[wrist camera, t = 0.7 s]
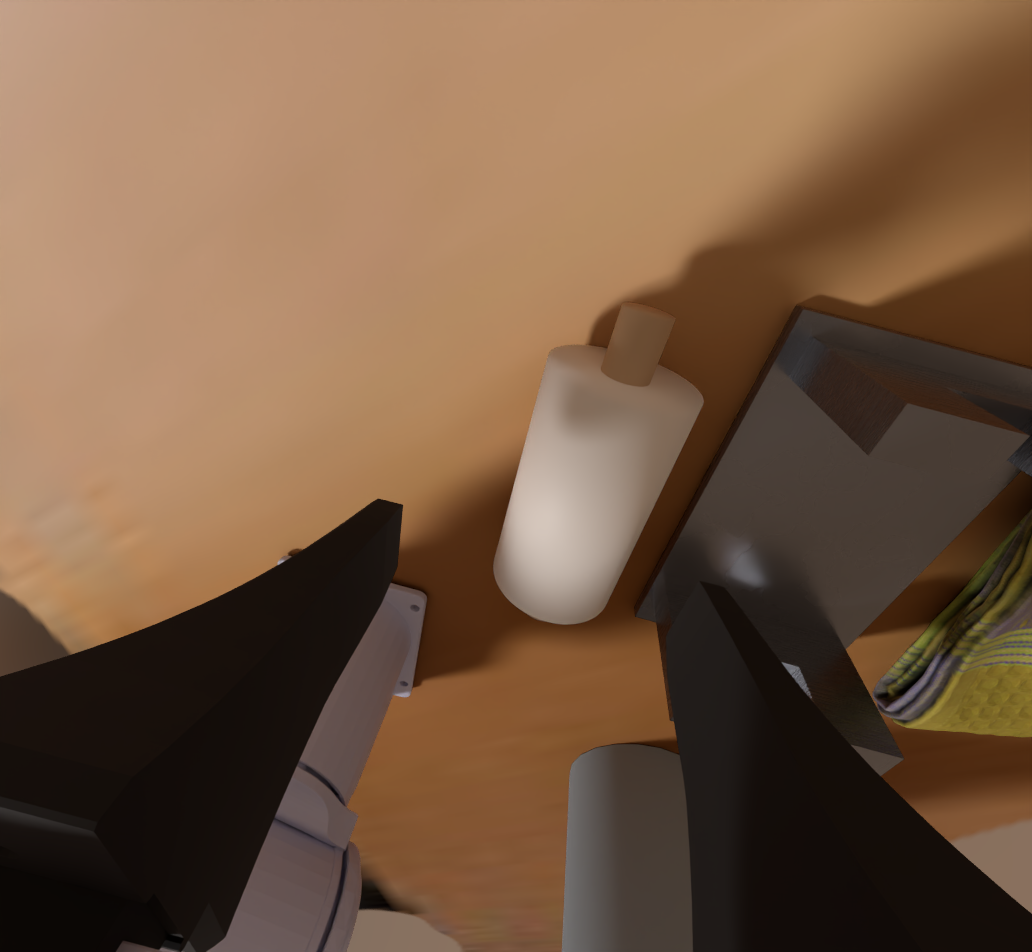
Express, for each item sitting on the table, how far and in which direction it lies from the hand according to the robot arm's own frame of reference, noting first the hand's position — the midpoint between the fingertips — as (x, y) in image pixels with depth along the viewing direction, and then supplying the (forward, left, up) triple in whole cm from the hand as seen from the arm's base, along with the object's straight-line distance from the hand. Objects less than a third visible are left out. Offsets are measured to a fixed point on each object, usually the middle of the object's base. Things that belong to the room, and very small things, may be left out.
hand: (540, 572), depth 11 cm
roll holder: (-1, -11, -9) cm, 14 cm away
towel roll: (-1, -1, -6) cm, 6 cm away
